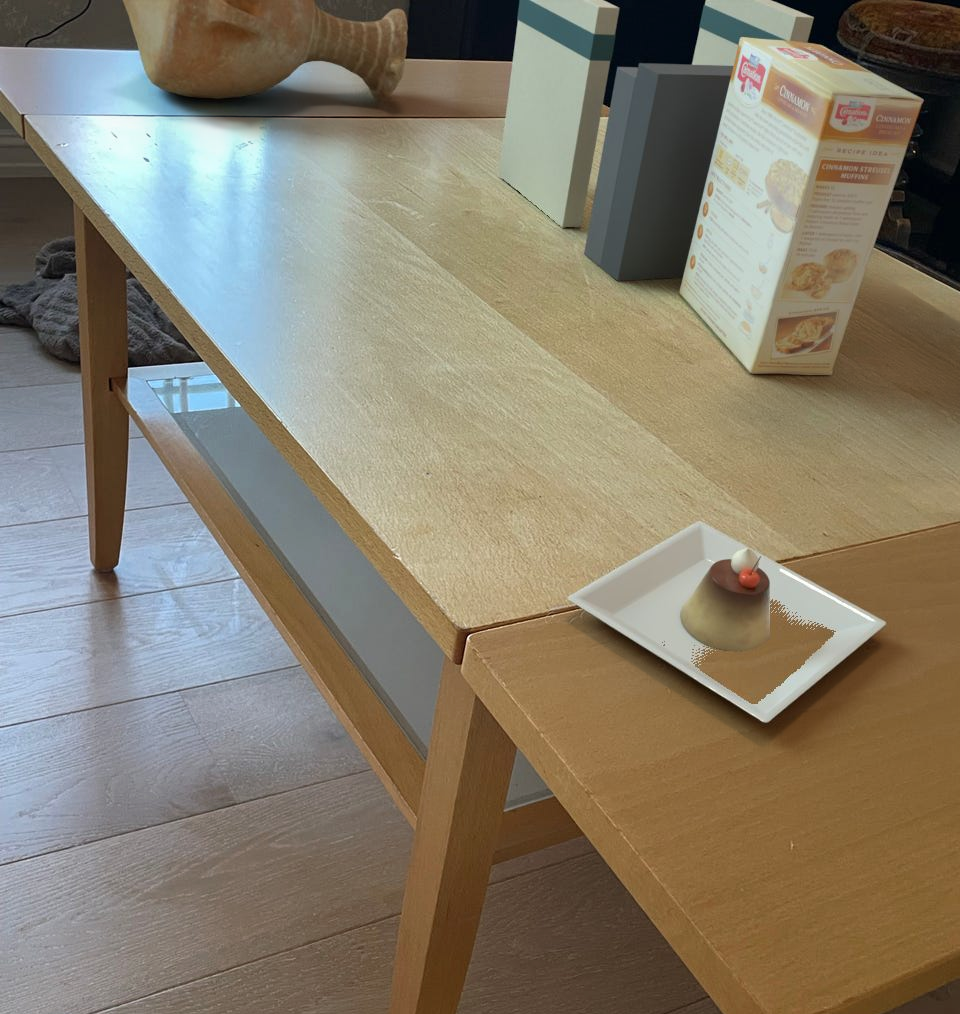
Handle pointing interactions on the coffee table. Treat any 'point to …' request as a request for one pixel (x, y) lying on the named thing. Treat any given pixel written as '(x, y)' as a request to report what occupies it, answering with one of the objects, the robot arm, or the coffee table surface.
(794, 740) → the coffee table surface
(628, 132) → the grey books
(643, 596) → the dessert
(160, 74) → the jug
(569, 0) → the cream books
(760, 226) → the coffeecake box
